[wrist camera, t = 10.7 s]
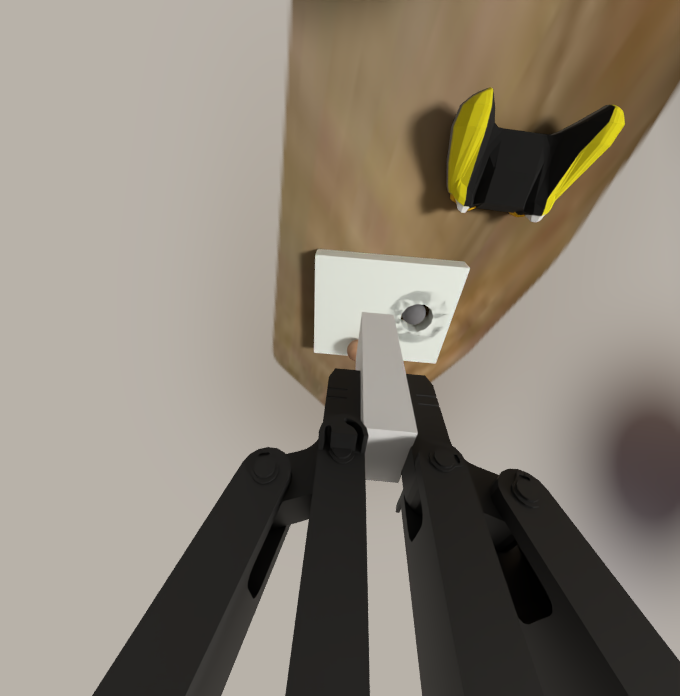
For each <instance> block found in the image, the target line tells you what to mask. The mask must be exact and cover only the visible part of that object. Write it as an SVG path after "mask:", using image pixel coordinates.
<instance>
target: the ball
mask: <svg viewBox="0 0 680 696" xmlns="http://www.w3.org/2000/svg"><path fill="white" fill-rule="evenodd" d="M425 315H426V310H425V308H424V306H423V305H421V304H415V305H412V306H410V307H407V308H406V310H405V311H404V312H403V313H402V317H403V319H404V320H405V322H407V323H408V324H412V325H415V324H419V323H420V322H422V321H423V319H424V318H425Z"/></svg>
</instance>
